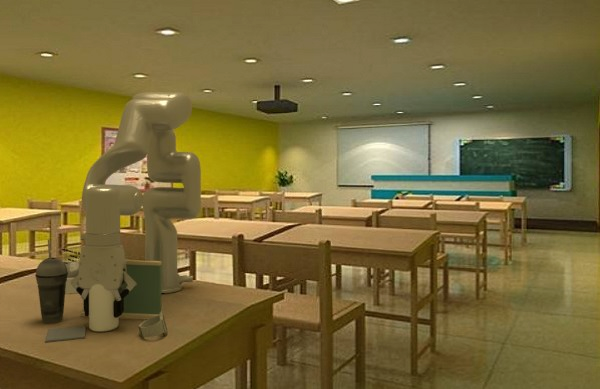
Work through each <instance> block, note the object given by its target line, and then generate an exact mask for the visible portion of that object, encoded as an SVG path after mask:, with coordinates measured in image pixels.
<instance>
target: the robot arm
mask: <svg viewBox="0 0 600 389" xmlns="http://www.w3.org/2000/svg"><path fill="white" fill-rule="evenodd" d="M192 111H193V104H192V101H191V98H190V96H189V95H188V94H186V93H184V92H161V91H160V92H159V91H155V92H154V91H152V92H150V91H148V92H139V93H137V94H135V95H133V96H132V98H131V100H129V101H128V102H126V104H125V105H124V108H123V111H122V114H121V118H120V121H119V125H118V129H117V133H116V136H115V140H114V144H113V145H112V147H110V149H108V150H106V152H104V153H103V154H102V155H101V156H99V158H98V159H97V160H96V161H95V162H94V163H93V164H92V165H91V167H90V168H89V170H88V171H87V175H86V177H85V181H84V184H83V187H82V192H81V205H82V208H83V210H84V211H85V233H84V234H83V233H82V234H81V235H80V240H81V241H84V243H85V245H82V247H81V249H80V250H81V251H80V255H79V256H80V258H79V260H80V261H79V271H78V275H77V276H76V277H75V278H74V279H73V280H72V281H71V282H70V283H71V285H72V286H73V287H74V288H75V289H76V291H77V292H78V293H77V294H79V296H80V299H82V300H83V311H84V312H85V316H89V289H92V286H93V285H95V284H100V285H102V286H103V287H104V289H106V290H113V293H114V296H115V298H116V300H115V301H114V317H115V318H117V317H119V316H120V315H122V313H123V311H124V298H125V297H126V296H127V295H128V294H129V293H130V292H131V290H132V289H133V288H134V287H135V286H136V285H137V283H136V282H135V281H134V280H133V279H132V278H131V277H130V276H129V275H128V274H127V267H126V260H127V259H126V254H125V249H124V245H123V244H121V216H133V215H135V214H137V213H138V212H139V211H140V210H141V209H142V211H143V218H144V227H145V228H144V229H145V230H144V232H145V235H144V236H145V238H144V239H145V247H144V248H145V251H144V252H145V258H144V259H145V260H144V261H162V264H161V293H165V294H170V293H171V294H172V293H176V292H179V291H180V290H182V289H183V283H193V282H194V281H193V280H194V279H193V275H184V274H183V275H180V274H179V273H178V231H177V228H176V226H175V225H174V222H172V219H173V220H174V219H175V220H182V219H183V220H191V219H196V218H197V217H198V216H199V214H200V212H201V205H202V203H201V202H202V192H201V191H202V188H201V187H202V183H201V182H202V180H201V179H202V178H201V177H202V171H201V170H202V169H201V168H202V167H201V162H200V159H199V157H198V155H196V154H195V153H194V152H190V151H177V144H176V142H177V137H176V133H175V131H174V130H176V129H178V128H180V127H181V126H182V125H184V124H185V123H187V122H188V120H189V119H190V118H191V115H192ZM145 158H146V168H147V169H146V171H147V176H148V178H149V179H150V181H152V182H154V183H164V184H166V183H167V184H168V183H169V184H182V186H183V187H171V186H170V187H169V186H156V187H155V186H154V187H150V188H148V189H147V190H145V191H144V193H142V191H141V190H140V189H139V188H138V187H137V186H133V185H130V184H129V185H127V184H106V181H107V180H108V179H109V178H110V177H111V176H112V175H114V173H116V172H117V171H120V170H122V169H124V168H126V167H129V166H132V165H134V164H137V163H138V162H141V161H142V160H145ZM126 283H127V284H128V286H127V287H126V289H123V287H122V286H123V285H125V284H126Z"/></svg>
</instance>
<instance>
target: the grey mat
mask: <svg viewBox="0 0 600 389" xmlns="http://www.w3.org/2000/svg"><path fill="white" fill-rule="evenodd" d="M86 328H87V325H78V326H77V325H76V326H67V327H56V328H47V332H46V336H45V339H44V343H52V342H53V343H54V342H63V341H72V340H79V339H80V340H81V339H82V340H83V339H86Z"/></svg>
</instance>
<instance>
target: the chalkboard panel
mask: <svg viewBox="0 0 600 389" xmlns="http://www.w3.org/2000/svg"><path fill="white" fill-rule="evenodd" d="M161 264H162V261H145V260H143V259H141V260H137V259H134V260H133V259H126V267H127V274H128V275H129V276H130V277H131V278H132V279H133V280H134V281H135V282H136V283H137V285H136V286H135V287H134V288H133V289H132V290H131V292H130V293H129V294H128V295H127V296H126V297H125V298H124V311H123V313H122V315H120V316H119V319H124V320H125V319H128V320H129V319H130V320H146V319H150V318H152V317H155V316H158V315H159V314H160V312H162V313H163V314H164V311H162V294H161ZM127 286H128V284H127V283H126V284H125V285H123V286H122V287H123V289H126V287H127ZM80 317H85V318H89V316H85V312H84V310H83V311H81V312H80Z"/></svg>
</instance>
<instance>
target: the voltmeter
mask: <svg viewBox="0 0 600 389" xmlns="http://www.w3.org/2000/svg"><path fill="white" fill-rule="evenodd" d="M61 251H64V252H68V253H70V254H69V257H71V258H74V259H71V258H67V261H73V262H72V263H67V262H65V261H63V262H64V263H65V264H67V265H66V267H67V272H68V274H67V278H75V277H76V276H77V275H78V271H79V261H80V255H81V251H78V252H77V251H73V250H71V249H70V250H69V249H66V248H61ZM71 253H73V254H77V255H79V256H77V255H72V254H71ZM75 259H78V260H75ZM74 261H75V262H74Z"/></svg>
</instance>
